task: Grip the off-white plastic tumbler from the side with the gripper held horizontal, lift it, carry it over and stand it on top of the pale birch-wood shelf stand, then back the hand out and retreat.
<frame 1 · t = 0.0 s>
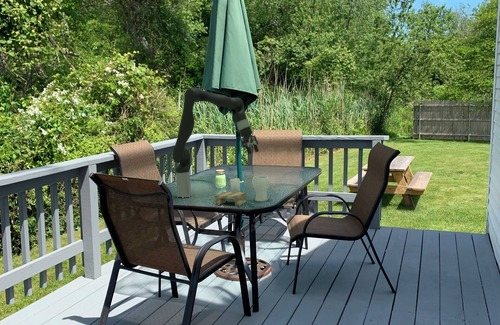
hand: (253, 152, 311), 31 cm above the table, tool tilted 20°, fingers open, 8 cm apart
shelf stand: (231, 203, 317), on the table
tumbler: (236, 198, 331), on the table
cup: (261, 200, 322), on the table
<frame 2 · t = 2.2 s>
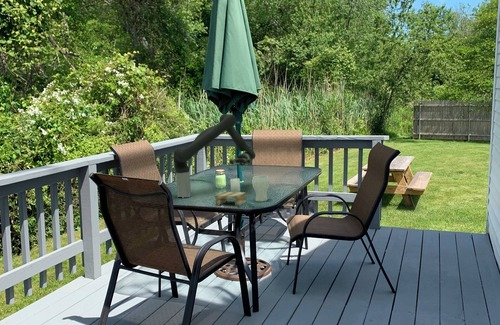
hand: (237, 162, 338), 22 cm above the table, tool horizontal, fingers open, 8 cm apart
nothing on the table moved.
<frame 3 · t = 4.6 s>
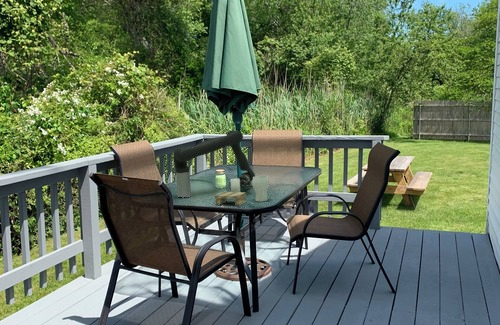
hand: (238, 185, 338), 7 cm above the table, tool horizontal, fingers open, 8 cm apart
nothing on the table moved.
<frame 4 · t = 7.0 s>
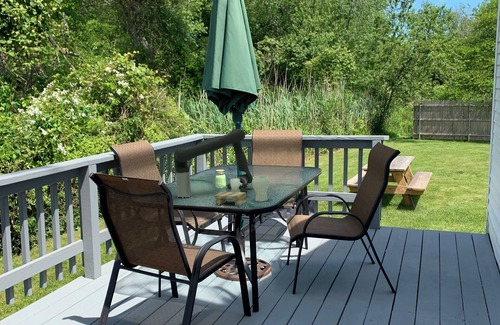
hand: (234, 188, 327), 8 cm above the table, tool horizontal, fingers closed on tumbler, 6 cm apart
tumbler: (236, 198, 331), on the table, touching gripper
everything else where it was.
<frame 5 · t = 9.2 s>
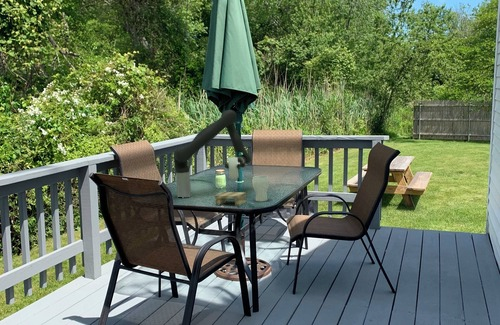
hand: (232, 166, 323), 22 cm above the table, tool horizontal, fingers closed on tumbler, 6 cm apart
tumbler: (233, 177, 326), point 14 cm above the table, touching gripper
everything else where it was.
when the fingers open (15 cm above the table, at t = 11.9 s): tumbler drops 1 cm, resting on shelf stand.
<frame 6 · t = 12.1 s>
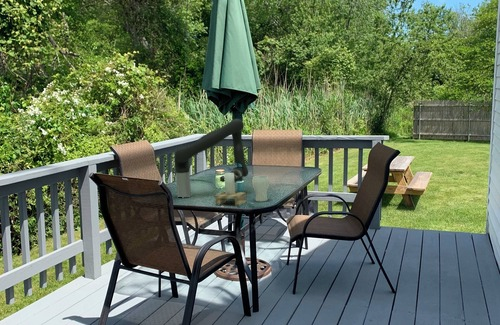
hand: (228, 180, 313), 15 cm above the table, tool horizontal, fingers open, 8 cm apart
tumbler: (230, 193, 316), point 6 cm above the table, touching shelf stand
everything else where it was.
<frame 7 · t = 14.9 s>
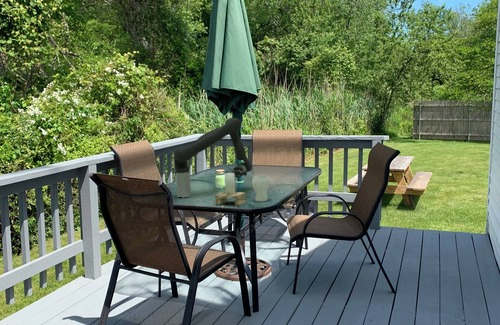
hand: (233, 175, 326), 16 cm above the table, tool horizontal, fingers open, 8 cm apart
nothing on the table moved.
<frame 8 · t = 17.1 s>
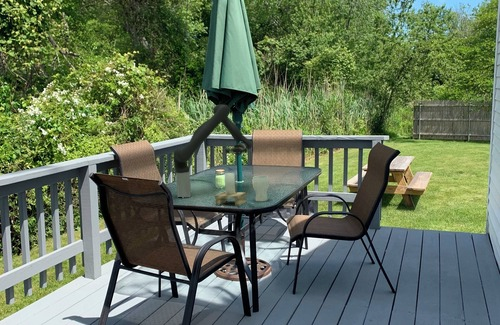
hand: (234, 151, 334), 30 cm above the table, tool horizontal, fingers open, 8 cm apart
nothing on the table moved.
at the end: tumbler inside the target area on the shelf stand (0.1 cm from its centre), point 6.0 cm above the shelf stand's base; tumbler tilted 0°; the gripper is holding nothing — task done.
